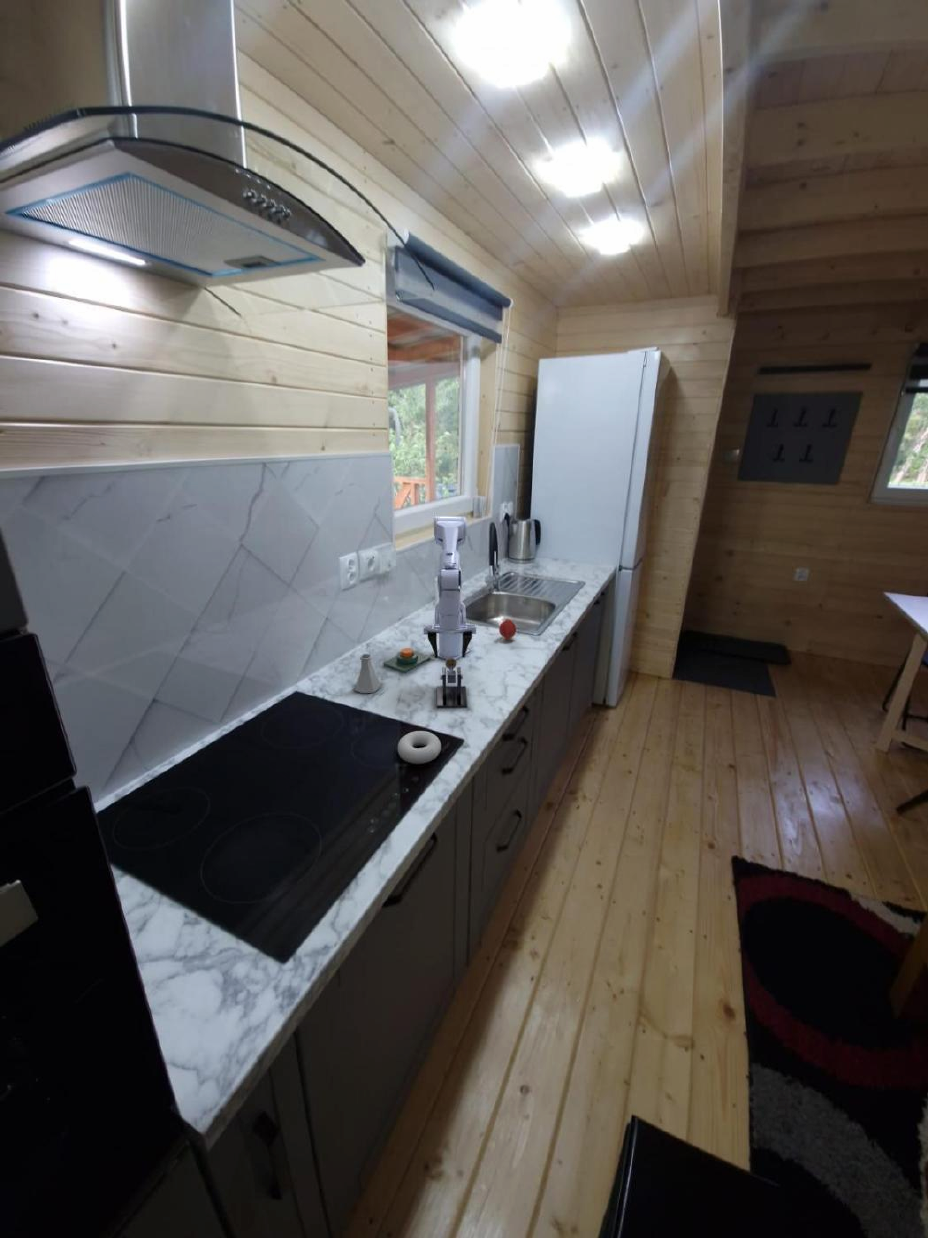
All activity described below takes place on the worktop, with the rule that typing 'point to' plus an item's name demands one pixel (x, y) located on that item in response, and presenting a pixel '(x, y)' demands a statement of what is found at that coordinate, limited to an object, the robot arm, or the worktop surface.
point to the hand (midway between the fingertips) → (449, 656)
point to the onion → (507, 629)
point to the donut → (419, 754)
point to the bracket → (451, 692)
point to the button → (406, 652)
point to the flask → (367, 676)
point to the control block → (406, 662)
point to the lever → (451, 670)
